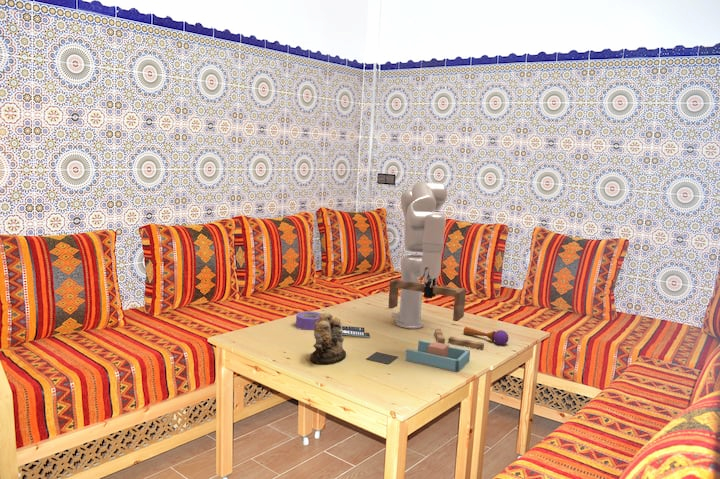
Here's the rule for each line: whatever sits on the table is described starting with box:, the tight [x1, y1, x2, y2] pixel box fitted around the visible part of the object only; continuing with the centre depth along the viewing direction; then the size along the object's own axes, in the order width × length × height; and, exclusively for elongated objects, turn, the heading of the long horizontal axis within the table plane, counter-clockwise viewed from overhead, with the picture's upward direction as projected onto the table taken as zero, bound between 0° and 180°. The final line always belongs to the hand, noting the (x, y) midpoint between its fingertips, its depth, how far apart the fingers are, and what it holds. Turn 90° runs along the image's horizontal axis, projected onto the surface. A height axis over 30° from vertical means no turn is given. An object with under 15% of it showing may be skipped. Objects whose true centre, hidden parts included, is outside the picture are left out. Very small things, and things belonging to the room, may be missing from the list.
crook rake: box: [387, 278, 467, 322], centre depth 215 cm, size 28×8×10 cm, turn 63°
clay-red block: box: [428, 341, 449, 357], centre depth 214 cm, size 6×6×6 cm
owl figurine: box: [309, 312, 347, 366], centre depth 210 cm, size 18×12×17 cm, turn 157°
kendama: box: [462, 326, 510, 346], centre depth 242 cm, size 6×6×20 cm
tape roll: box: [295, 311, 322, 331], centre depth 249 cm, size 12×12×5 cm
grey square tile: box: [365, 351, 399, 365], centre depth 214 cm, size 9×9×1 cm
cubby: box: [405, 339, 471, 373], centre depth 214 cm, size 20×13×4 cm, turn 63°
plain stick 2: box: [448, 336, 485, 351], centre depth 233 cm, size 14×2×2 cm, turn 63°
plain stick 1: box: [434, 328, 446, 344], centre depth 240 cm, size 14×2×2 cm, turn 179°
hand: (429, 296), depth 214 cm, fingers closed on crook rake, 2 cm apart
